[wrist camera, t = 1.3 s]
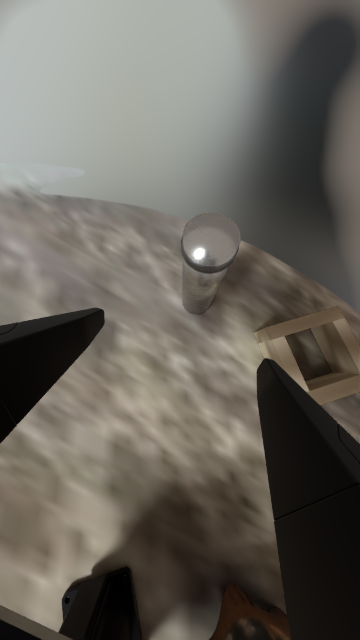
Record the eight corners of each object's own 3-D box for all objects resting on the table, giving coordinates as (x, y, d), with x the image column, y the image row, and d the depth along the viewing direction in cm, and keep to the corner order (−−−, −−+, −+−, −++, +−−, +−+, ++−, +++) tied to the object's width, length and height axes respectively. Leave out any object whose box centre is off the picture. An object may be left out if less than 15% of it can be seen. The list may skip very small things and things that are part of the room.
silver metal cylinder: (215, 310, 23) (251, 253, 11) (186, 318, 23) (191, 269, 11) (205, 284, 24) (229, 205, 12) (178, 291, 24) (174, 219, 12)
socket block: (349, 381, 21) (381, 384, 18) (282, 403, 20) (302, 411, 17) (314, 314, 23) (337, 306, 20) (253, 332, 23) (266, 327, 19)
